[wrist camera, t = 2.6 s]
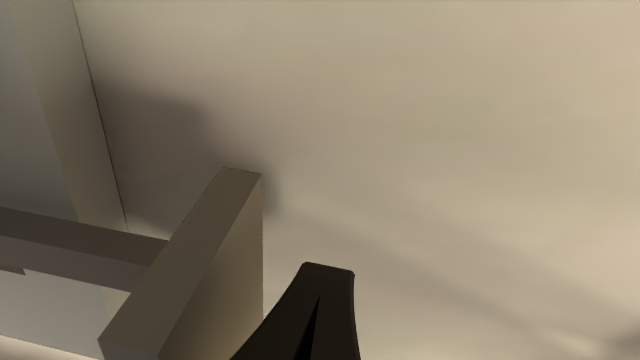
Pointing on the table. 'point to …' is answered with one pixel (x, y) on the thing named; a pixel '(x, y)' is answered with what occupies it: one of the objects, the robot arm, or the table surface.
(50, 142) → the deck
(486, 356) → the table surface
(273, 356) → the robot arm
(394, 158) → the table surface
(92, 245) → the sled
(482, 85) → the table surface
